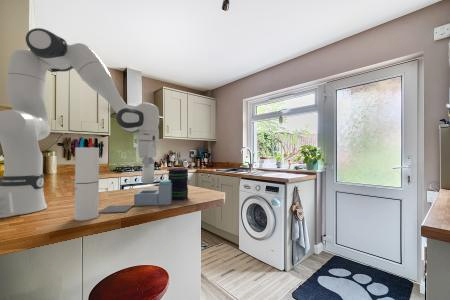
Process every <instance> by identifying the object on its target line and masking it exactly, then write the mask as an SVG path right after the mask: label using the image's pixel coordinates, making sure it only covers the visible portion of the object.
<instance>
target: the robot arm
mask: <svg viewBox="0 0 450 300" xmlns="http://www.w3.org/2000/svg"><path fill="white" fill-rule="evenodd" d="M25 43H26V45H27V47H28V49H29V50H28V49H16V50H14V51H12V53H11V55H10V59H9V62H8V66H7V74H6V92H5V93H6V97H7V99H8V101H9V102H10V105H11V109H5V110H0V145H1V148H2V152H3V175H2V176H1V177H0V218H8V217H14V216H18V215H19V216H20V215H25V214H32V213H35V212H39V211H44V210H46V209H47V208H48V205H47V203H46V199H45V193H44V185H45V174H44V173H43V169H44V168H43V167H44V156H43V153H42V151H41V149H40V145H39V141H42V140H44V139H46V138H47V137H48V136H49V135H50V134H51V125H50V124H49V120H48V114H47V113H48V111H47V107H46V100H45V99H46V98H45V96H46V75H47V73H48V71H49V72H51V73H56V72H63V73H64V72H69V71H71V70H72V69H74V70H75V72H76V73H77V74H78V76H79V77H80V78H81V79H82V80H83V82H84V83H85V84H86V85H87V86H88V87H89V88H91V89H92V90H93V91H95V92H96V93H97V94H98V95H99V96H100V97H102V98H103V99H104V100H105V101H106V102H107V103H108V104H109V105H110V107H111V108H112V109H113V110H114V112H115V114H116V116H115V120H116V123H117V124H118V126H120V127H121V128H122V129H123V130H124V131H125V132H127V133H130V134H134V133H137V132H138V134H137V136H136V140H137V141H138V144H137V148H138V149H137V150H138V156H139V158H141V159H144V167H145V168H149V159H154V158H156V157H157V143H158V142H159V141H160V130H159V125H160V111H159V108H158V106H157V105H155V104H154V103H151V102H148V101H146V102H141V103H139V104H137V105H135V106H130V107H129V106H128V105H127V103H126V102H125V101H124V99H123V98H122V96H121V95H120V93H119V91H118V89H117V87H116V85H115V82H114V80H113V78H112V75H111V73H110V71H109V70H108V67H106V65H105V64H104V63H103V61H102V60H101V58H100V57H99V56H98V55H97V54H96V52H94V51H93V50H92V49H91V48H90V47H89V46H88V45H86V44H85V43H82V42H81V43H72V44H68V43H67V41H66V39H64V38H62V37H60V36H58V35H57V34H55V33H53V32H52V31H50V30H48V29H44V28H39V27H37V28H32V29H30V30H29V31H28V32H27V33H26V35H25Z"/></svg>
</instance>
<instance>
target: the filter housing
mask: <svg viewBox="0 0 450 300" xmlns="http://www.w3.org/2000/svg"><path fill="white" fill-rule="evenodd" d="M133 195H134V198H133V199H134V200H133V207H134V206H171V204H172V183H170V184H163V185H162V184H160V183H159V184H158V189H140V190H138V191H137V192H136V193H134V194H133Z"/></svg>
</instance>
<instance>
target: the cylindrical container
mask: <svg viewBox="0 0 450 300" xmlns="http://www.w3.org/2000/svg"><path fill="white" fill-rule="evenodd" d="M74 150H75V154H74V155H75V157H74V158H75V159H74V163H75V164H74V218H73V219H74V221H89V220H93V219H96V218H97V217H99V214H98V212H99V195H100V192H99V189H100V188H99V186H100V184H99V183H100V181H99V180H100V178H99V177H100V147H85V146H82V147H75V148H74Z"/></svg>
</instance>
